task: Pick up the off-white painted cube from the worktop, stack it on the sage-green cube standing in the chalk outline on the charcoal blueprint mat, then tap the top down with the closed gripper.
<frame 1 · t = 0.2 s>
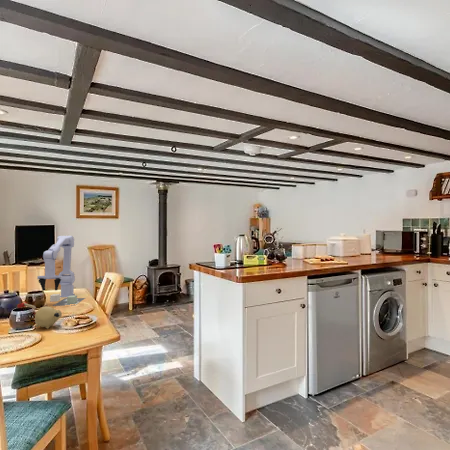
hand: (50, 290, 201), 10 cm above the table, tool pointing down, fingers open, 7 cm apart
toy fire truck: (31, 321, 169), on the table
toy pig: (48, 327, 159), on the table
blueprint mat: (69, 302, 210), on the table
top block: (55, 301, 213), on the table
base block: (72, 303, 206), resting on blueprint mat
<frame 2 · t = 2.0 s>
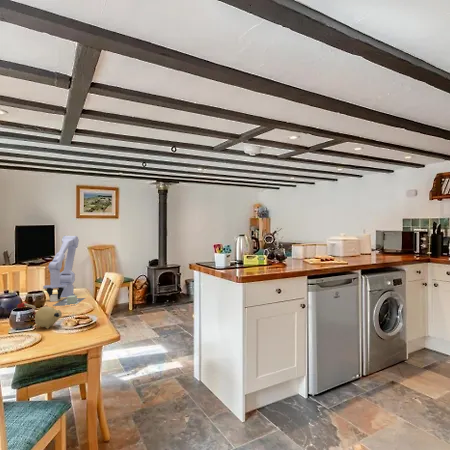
hand: (55, 299, 213), 1 cm above the table, tool pointing down, fingers closed on top block, 4 cm apart
top block: (55, 301, 213), on the table, touching gripper
everything else where it was.
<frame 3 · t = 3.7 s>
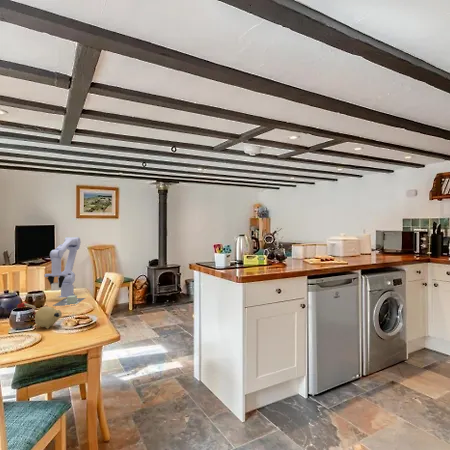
hand: (56, 287, 212), 9 cm above the table, tool pointing down, fingers closed on top block, 4 cm apart
top block: (56, 289, 212), point 8 cm above the table, touching gripper
everything else where it was.
when the fingers open (7 cm above the table, at t = 5.5 s): top block stays where it is, resting on base block.
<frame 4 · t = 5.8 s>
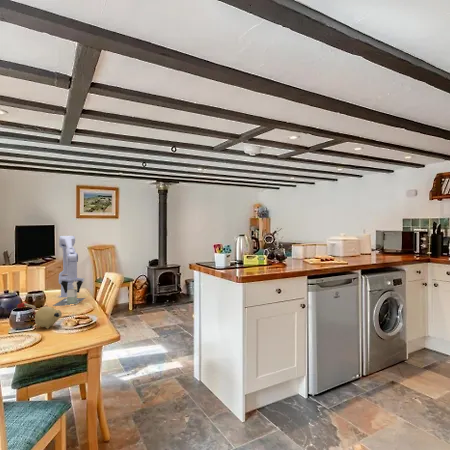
hand: (72, 292, 206), 7 cm above the table, tool pointing down, fingers open, 7 cm apart
top block: (72, 296, 206), point 5 cm above the table, touching base block
base block: (72, 303, 206), resting on blueprint mat, touching top block
everything else where it was.
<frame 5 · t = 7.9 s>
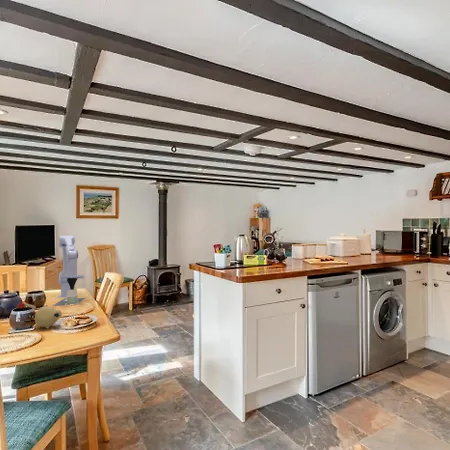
hand: (72, 289, 206), 9 cm above the table, tool pointing down, fingers closed, pressing on top block
top block: (72, 296, 206), point 5 cm above the table, touching base block, gripper
everything else where it was.
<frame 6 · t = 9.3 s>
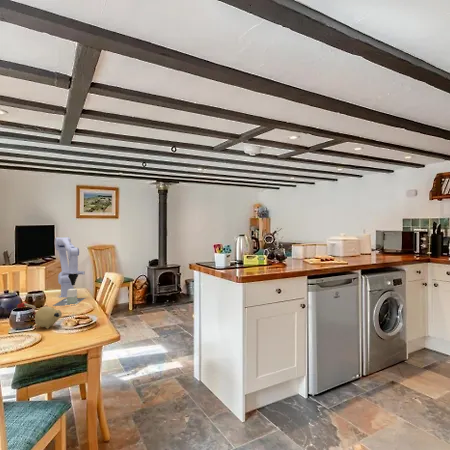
hand: (73, 285, 216), 10 cm above the table, tool pointing down, fingers closed
top block: (72, 296, 206), point 5 cm above the table, touching base block
everything else where it was.
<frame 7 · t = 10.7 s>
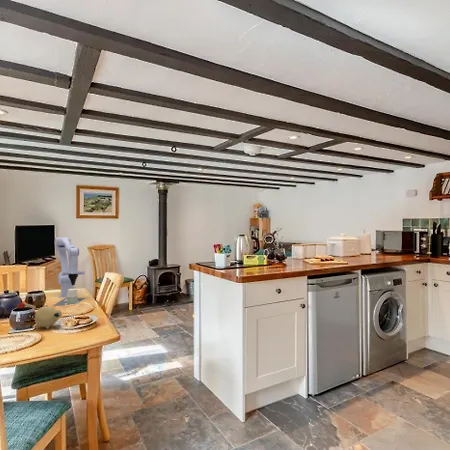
hand: (73, 285, 216), 10 cm above the table, tool pointing down, fingers closed
nothing on the table moved.
at the end: top block 0.1 cm off-centre on the base block, point 4.5 cm above the base block's base; top block tilted 0°; base block moved 0.0 cm from its start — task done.
